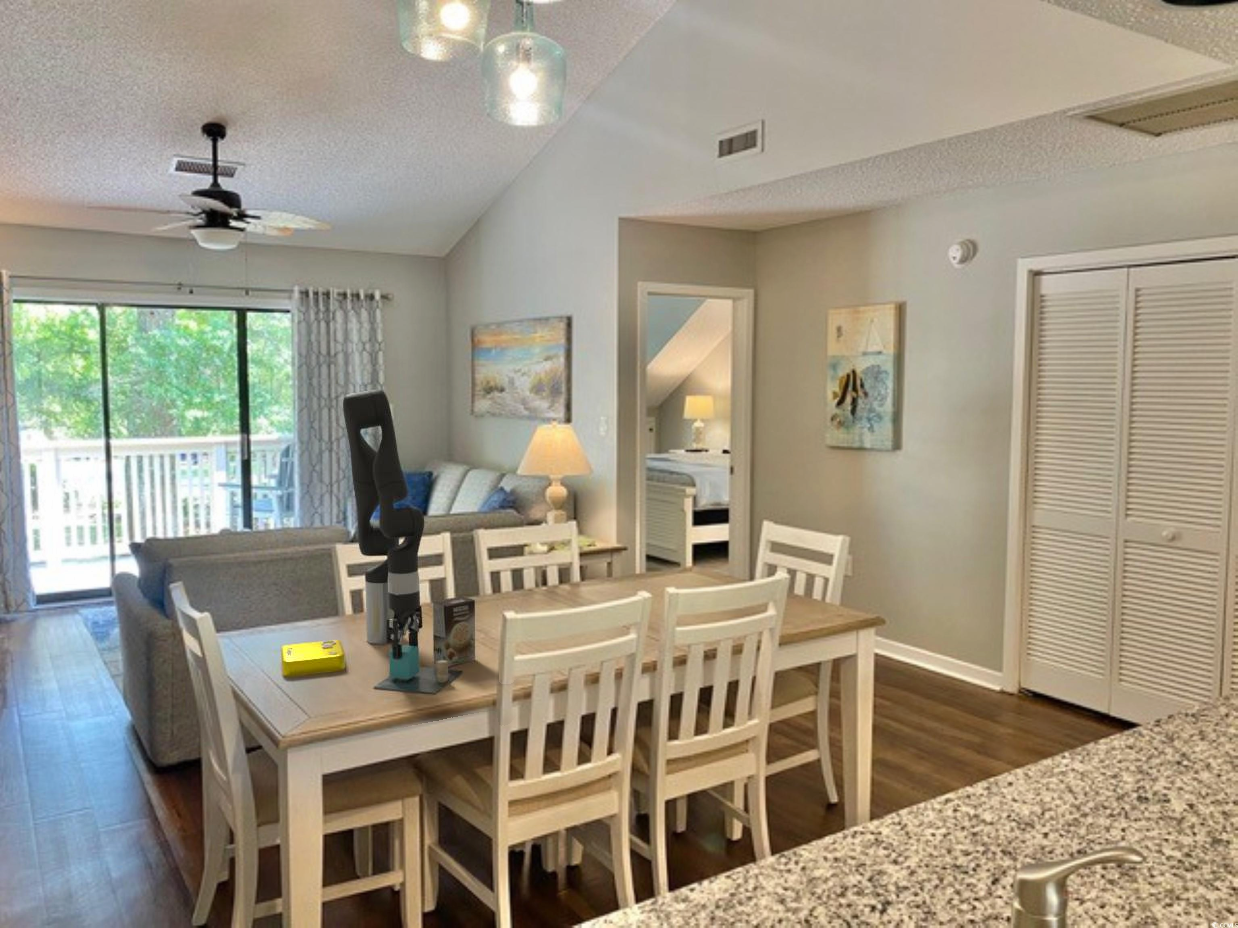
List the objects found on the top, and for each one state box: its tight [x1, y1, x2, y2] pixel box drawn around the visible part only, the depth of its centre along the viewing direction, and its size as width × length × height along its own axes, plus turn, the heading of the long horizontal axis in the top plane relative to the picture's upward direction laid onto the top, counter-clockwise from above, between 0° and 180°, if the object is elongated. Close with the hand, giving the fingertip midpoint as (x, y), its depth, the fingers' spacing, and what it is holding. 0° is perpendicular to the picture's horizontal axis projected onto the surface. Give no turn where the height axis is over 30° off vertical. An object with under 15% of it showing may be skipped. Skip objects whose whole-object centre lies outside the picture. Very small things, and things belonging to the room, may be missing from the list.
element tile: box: [280, 639, 346, 678], centre depth 235 cm, size 15×15×5 cm
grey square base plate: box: [373, 666, 464, 695], centre depth 223 cm, size 16×16×7 cm
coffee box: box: [432, 596, 476, 667], centre depth 237 cm, size 9×6×16 cm
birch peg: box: [435, 661, 449, 683], centre depth 222 cm, size 3×3×5 cm
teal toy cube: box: [388, 644, 420, 679], centre depth 224 cm, size 5×5×7 cm
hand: (405, 653), depth 224 cm, fingers open, 8 cm apart
